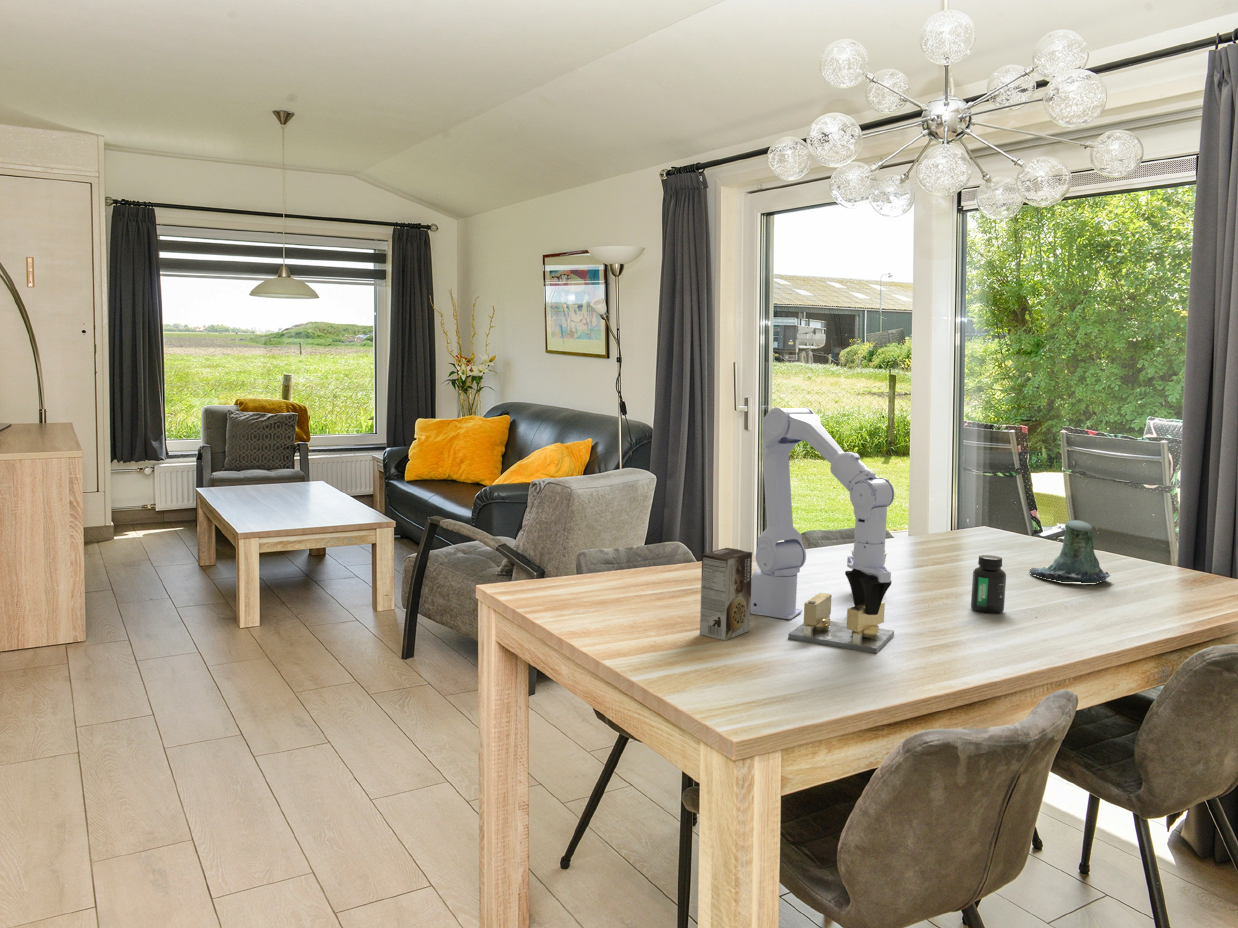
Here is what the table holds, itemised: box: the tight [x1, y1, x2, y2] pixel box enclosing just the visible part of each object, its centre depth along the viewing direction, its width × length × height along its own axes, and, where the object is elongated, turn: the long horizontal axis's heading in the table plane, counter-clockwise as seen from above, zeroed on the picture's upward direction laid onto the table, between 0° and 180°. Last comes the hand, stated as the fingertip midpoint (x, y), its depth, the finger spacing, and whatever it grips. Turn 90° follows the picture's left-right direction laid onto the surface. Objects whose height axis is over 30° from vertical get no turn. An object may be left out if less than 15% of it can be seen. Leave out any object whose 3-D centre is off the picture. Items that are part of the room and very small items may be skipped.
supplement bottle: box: [970, 554, 1007, 615], centre depth 205 cm, size 7×7×12 cm
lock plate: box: [787, 592, 895, 654], centre depth 182 cm, size 17×14×7 cm
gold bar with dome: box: [846, 601, 886, 638], centre depth 180 cm, size 10×5×6 cm, turn 136°
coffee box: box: [699, 547, 753, 641], centre depth 183 cm, size 9×6×16 cm
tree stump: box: [1028, 519, 1111, 583], centre depth 239 cm, size 18×20×18 cm
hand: (865, 610), depth 179 cm, fingers closed on gold bar with dome, 4 cm apart
